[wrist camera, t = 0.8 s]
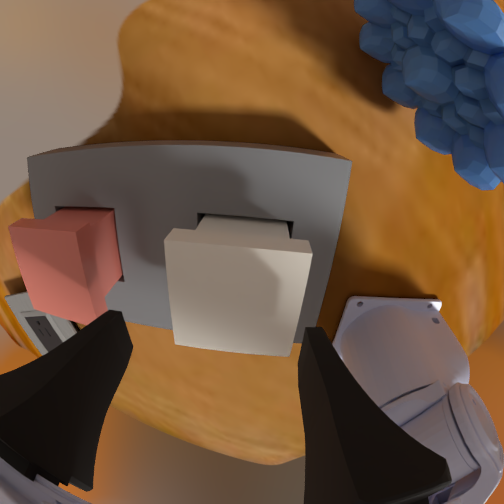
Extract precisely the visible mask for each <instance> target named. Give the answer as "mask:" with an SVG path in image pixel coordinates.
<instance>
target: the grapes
mask: <svg viewBox="0 0 504 504" xmlns="http://www.w3.org/2000/svg"><path fill="white" fill-rule="evenodd" d="M354 9H355V12H356V13H358V14H359V15H360V16H361V17H363V18H364V19H366V20H367V21H369V22H368V23H366V24H364V25H363V26H362V28H361V31H360V33H359V45H360V49H361V50H363V51H364V52H365V53H367V54H368V55H370V56H371V57H373V58H375V59H377V60H379V61H381V62H383V63H389V65H387V66H386V68H385V70H384V72H383V75H382V91H383V94H384V95H386V96H387V97H388V98H390V99H391V100H393V101H395V102H397V103H398V104H400V105H402V106H404V107H408V108H411V109H416V108H418V109H417V110H416V112H415V122H414V124H415V132H416V138H417V139H418V140H419V141H420V142H422V143H423V144H424V145H426V146H427V147H429V148H430V149H431V150H433V151H436V152H438V153H441V154H444V155H446V154H452V160H453V165H454V170H455V171H456V172H457V173H458V174H459V175H460V176H461V177H462V178H463V179H464V180H466V181H467V182H468V183H469V184H470V185H473V186H475V187H477V188H479V189H481V190H493V189H494V188H495V187H496V186H497V185H498V184H499V183H500V182H501V181H502V182H503V183H504V13H503V12H502V10H501V9H500V8H499V6H498V5H497V4H496V3H495V2H494V1H493V0H354Z"/></svg>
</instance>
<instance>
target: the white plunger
mask: <svg viewBox="0 0 504 504" xmlns="http://www.w3.org/2000/svg"><path fill="white" fill-rule="evenodd" d="M164 248H165V261H166V273H167V283H168V293H169V302H170V310H171V318H172V326H173V333H174V340H175V344H177V345H183V346H190V347H196V348H203V349H211V350H219V351H227V352H236V353H246V354H258V355H270V356H286V357H289V356H290V352H291V348H292V344H293V340H294V336H295V332H296V328H297V324H298V320H299V316H300V311H301V307H302V303H303V298H304V294H305V289H306V284H307V280H308V275H309V270H310V265H311V260H312V255H313V253H312V250H311V247H310V243H309V240H299V239H290V237H289V231H288V226H287V220H277V219H267V218H257V217H246V216H234V215H222V214H209V213H206V214H205V216H204V217H203V219H202V220H201V222H200V223H199V225H198V226H197V228H196V230H190V229H178V228H173V229H172V231H171V232H170V233H169V234H168V236H167V237H166V238H165V239H164Z"/></svg>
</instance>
